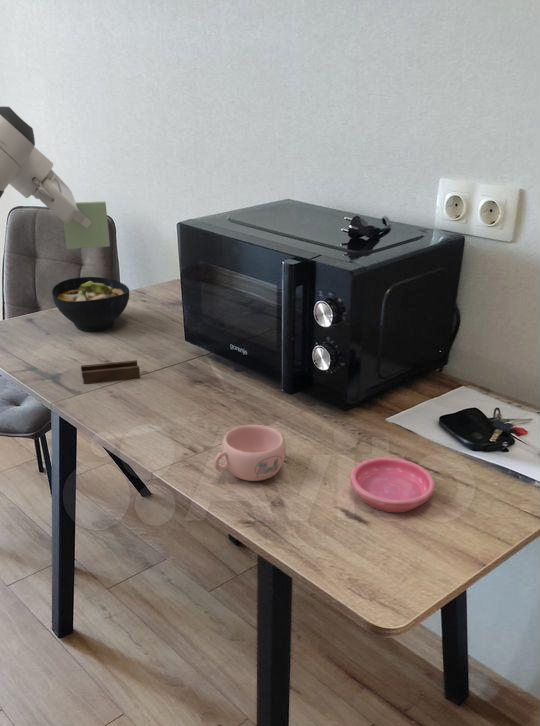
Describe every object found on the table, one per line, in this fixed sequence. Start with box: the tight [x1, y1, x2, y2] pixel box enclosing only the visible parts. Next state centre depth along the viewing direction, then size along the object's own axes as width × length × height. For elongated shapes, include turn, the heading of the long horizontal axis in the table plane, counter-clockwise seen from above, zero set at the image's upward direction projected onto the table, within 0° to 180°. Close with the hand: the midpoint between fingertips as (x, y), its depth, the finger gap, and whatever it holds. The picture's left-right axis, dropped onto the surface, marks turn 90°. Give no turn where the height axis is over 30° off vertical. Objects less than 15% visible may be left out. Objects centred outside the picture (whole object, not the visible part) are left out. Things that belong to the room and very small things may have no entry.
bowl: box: [51, 276, 130, 333], centre depth 161 cm, size 17×17×10 cm
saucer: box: [350, 456, 436, 513], centre depth 106 cm, size 12×12×3 cm
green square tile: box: [62, 201, 111, 250], centre depth 148 cm, size 9×1×9 cm, turn 107°
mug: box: [213, 424, 287, 482], centre depth 109 cm, size 12×10×6 cm
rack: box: [80, 359, 141, 385], centre depth 139 cm, size 11×4×2 cm, turn 107°
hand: (88, 223), depth 148 cm, fingers closed on green square tile, 1 cm apart
